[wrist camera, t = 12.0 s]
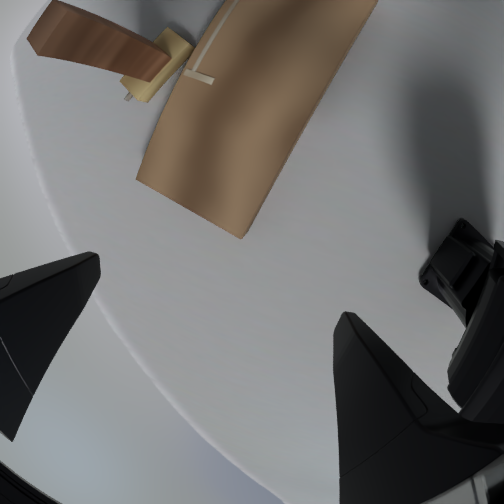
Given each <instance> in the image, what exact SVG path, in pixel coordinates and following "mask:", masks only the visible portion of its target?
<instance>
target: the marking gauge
mask: <svg viewBox="0 0 504 504" xmlns="http://www.w3.org/2000/svg"><path fill="white" fill-rule="evenodd" d="M27 40H28V41H29V43H30V45H31V46H32V48H33V49H34V51H35V52H36V54H37V55H38V56H44V57H50V58H56V59H61V60H67V61H71V62H76V63H81V64H85V65H89V66H93V67H97V68H101V69H105V70H109V71H113V72H116V73H120V74H123V75H124V76H123V77H122V79H121V80H120V82H121V83H122V84H123V85H124V86H125V87H126V89H127V90H128V91H129V93H128V94H127V96H126V97H125V98H124V99H125V100H126V101H129V100H130V99H131V98H132V97H133V96H134V97H135V98H136V99H137V100H138V101H143V102H147V103H148V102H149V100H150V99H151V98H152V97H153V96H154V95H155V93H156V92H157V91H158V90H159V89H160V88H161V87H162V85H163V84H164V83H165V82H166V81H167V80H168V79H169V78H170V77H171V76H172V75H173V73H174V72H175V71H176V70H177V69H178V68H179V67H180V66H181V65H182V64H183V63H184V62H185V61H186V60H187V59H188V58H189V57H190V56H191V55H192V53H193V51H194V50H195V48H194V47H193V46H192V45H191V44H189V43H188V42H187V41H186V40H184V39H183V38H182V37H181V36H179V35H178V34H177V33H175V32H174V31H172V30H171V29H170V28H168V27H167V28H166V29H165V30H164V31H163V32H162V33H161V34H160V35H159V36H158V37H157V38H156V39H155V40H154V41H153V42H151V41H150V40H148V39H146V38H144V37H142V36H140V35H138V34H136V33H134V32H132V31H130V30H128V29H126V28H124V27H122V26H120V25H118V24H116V23H114V22H111V21H109V20H107V19H105V18H102V17H100V16H98V15H95V14H93V13H91V12H88V11H86V10H83V9H81V8H78V7H75V6H73V5H70V4H67V3H64V2H61V1H58V0H52V1H51V3H50V4H49V5H48V7H47V8H46V10H45V11H44V12H43V14H42V15H41V17H40V18H39V20H38V21H37V23H36V24H35V26H34V27H33V29H32V31H31V32H30V34H29V35H28V37H27Z"/></svg>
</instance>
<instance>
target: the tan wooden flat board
mask: <svg viewBox="0 0 504 504" xmlns="http://www.w3.org/2000/svg"><path fill="white" fill-rule="evenodd" d="M377 2H378V0H226V1H225V2H224V4H223V5H222V7H221V8H220V10H219V11H218V12H217V14H216V16H215V17H214V19H213V20H212V22H211V23H210V25H209V26H208V28H207V30H206V31H205V33H204V34H203V36H202V38H201V39H200V41H199V43H198V44H197V46H196V48H195V50H194V51H193V53H192V55H191V57H190V58H189V60H188V62H187V64H186V66H185V68H184V69H183V71H182V73H181V75H180V77H179V79H178V81H177V83H176V85H175V87H174V89H173V91H172V93H171V95H170V97H169V99H168V101H167V103H166V106H165V108H164V110H163V112H162V114H161V116H160V119H159V121H158V123H157V126H156V128H155V130H154V133H153V135H152V137H151V140H150V142H149V145H148V147H147V150H146V152H145V155H144V158H143V160H142V163H141V166H140V168H139V171H138V174H137V177H136V180H138V181H139V182H141V183H143V184H145V185H146V186H148V187H150V188H152V189H154V190H155V191H157V192H159V193H161V194H162V195H164V196H166V197H168V198H169V199H171V200H173V201H175V202H176V203H178V204H180V205H182V206H183V207H185V208H187V209H189V210H190V211H192V212H194V213H196V214H197V215H199V216H201V217H203V218H204V219H206V220H208V221H210V222H211V223H213V224H215V225H217V226H218V227H220V228H222V229H224V230H225V231H227V232H229V233H230V234H232V235H234V236H236V237H237V238H239V239H242V238H243V237H244V236H245V234H246V233H247V232H248V230H249V229H250V227H251V225H252V223H253V221H254V219H255V217H256V216H257V214H258V212H259V210H260V208H261V206H262V205H263V203H264V201H265V199H266V197H267V196H268V194H269V192H270V190H271V188H272V186H273V185H274V183H275V181H276V179H277V177H278V176H279V174H280V172H281V170H282V168H283V166H284V165H285V163H286V161H287V159H288V157H289V156H290V154H291V152H292V150H293V148H294V147H295V145H296V143H297V141H298V139H299V138H300V136H301V134H302V132H303V131H304V129H305V127H306V125H307V123H308V122H309V120H310V118H311V116H312V115H313V113H314V111H315V109H316V108H317V106H318V104H319V102H320V100H321V99H322V97H323V95H324V93H325V92H326V90H327V88H328V86H329V85H330V83H331V81H332V79H333V78H334V76H335V74H336V72H337V71H338V69H339V67H340V66H341V64H342V62H343V60H344V59H345V57H346V55H347V53H348V52H349V50H350V48H351V47H352V45H353V43H354V41H355V40H356V38H357V36H358V35H359V33H360V31H361V29H362V28H363V26H364V24H365V23H366V21H367V19H368V18H369V16H370V14H371V13H372V11H373V9H374V7H375V6H376V4H377Z"/></svg>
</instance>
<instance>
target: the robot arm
mask: <svg viewBox="0 0 504 504" xmlns="http://www.w3.org/2000/svg"><path fill="white" fill-rule="evenodd" d="M462 223H464V226H463V227H462V228H461V225H462ZM100 275H101V270H100V258H99V255H98V254H97V253H93V252H85V253H81V254H78V255H74V256H71V257H68V258H64V259H61V260H58V261H54V262H51V263H48V264H44V265H41V266H38V267H35V268H31V269H28V270H25V271H22V272H19V273H16V274H14V275H13V274H12V275H9V276H6V277H3V278H0V433H1V434H3V435H4V436H5V437H6V438H7V439H9V440H10V441H11V442H13V440H14V438H15V436H16V433H17V431H18V428H19V426H20V424H21V422H22V419H23V417H24V415H25V413H26V410H27V408H28V406H29V404H30V402H31V400H32V398H33V395H34V394H35V392H36V389H37V388H38V386H39V384H40V382H41V380H42V378H43V376H44V374H45V372H46V370H47V369H48V367H49V365H50V363H51V361H52V360H53V358H54V356H55V354H56V353H57V351H58V349H59V347H60V346H61V344H62V343H63V341H64V339H65V338H66V336H67V334H68V333H69V331H70V329H71V328H72V326H73V325H74V323H75V321H76V320H77V318H78V317H79V315H80V314H81V312H82V310H83V309H84V307H85V305H86V303H87V301H88V299H89V298H90V296H91V294H92V292H93V290H94V288H95V286H96V284H97V283H98V281H99V279H100ZM426 279H427V282H426V283H424V280H426ZM419 282H420V284H421V286H422V287H423V288H425V289H426V290H427V291H429V292H430V293H431V294H433V295H434V296H436V297H437V298H438V299H440V300H441V301H442V302H444V303H445V304H446V305H448V306H449V307H450V308H452V309H453V310H454V312H455V313H456V315H457V316H458V317H459V319H460V320H461V322H462V323H463V325H464V326H465V328H466V330H465V332H464V334H463V336H462V339H461V341H460V343H459V345H458V347H457V348H455V350H454V352H453V354H452V359H451V361H450V363H449V367H448V371H447V372H448V379H449V385H448V387H447V388H448V391H449V393H450V395H451V396H452V398H453V400H454V401H455V402H456V403H457V405H458V406H459V407H460V408H461V411H460V412H459V413H457V412H456V411H455V410H454V409H453V408H452V407H450V406H449V405H448V404H447V403H446V402H445V401H444V400H443V399H441V398H440V397H439V396H438V395H437V394H436V393H435V392H434V391H433V390H432V389H430V388H429V387H428V386H427V385H426V384H425V383H424V382H423V381H422V380H421V379H420V378H419V377H418V376H417V375H416V374H415V373H414V372H413V371H412V370H411V368H410V367H409V366H408V365H407V364H406V363H405V362H404V361H403V360H402V359H401V358H400V357H399V356H398V355H397V354H396V353H395V352H394V351H393V350H392V349H391V348H390V347H389V346H388V345H387V344H386V343H385V342H384V341H383V340H382V339H381V338H380V337H379V336H378V335H377V334H376V333H375V332H374V331H373V330H372V329H371V328H370V327H369V326H368V325H367V324H366V323H364V322H363V321H362V320H361V319H360V318H359V317H358V316H357V315H356V314H355V313H352V312H346V311H345V312H343V313H342V315H341V317H340V319H339V321H338V323H337V325H336V327H335V330H334V335H333V374H334V385H335V397H336V410H337V425H338V443H339V474H340V478H339V484H340V504H504V242H503V241H499V240H495V244H494V248H493V247H492V246H491V245H490V244H489V243H488V242H487V240H486V239H485V238H484V237H483V236H482V235H481V234H480V233H479V232H478V231H477V230H476V229H475V228H474V227H473V226H472V225H471V224H470V223H469V222H468V221H466V220H465V219H459V220H458V222H457V223H456V225H455V227H454V228H453V230H452V231H451V233H450V235H449V236H448V237H446V239H445V241H444V242H443V244H442V245H441V247H440V248H439V250H438V251H437V253H436V254H435V256H434V257H433V259H432V260H431V264H430V265H429V266H428V268H427V269H426V271H425V272H424V273H423V275H422V276H421V278H420V280H419ZM0 504H62V503H60V502H58V501H56V500H55V499H53V498H51V497H50V496H48V495H47V494H45V493H44V492H42V491H40V490H39V489H37V488H36V487H34V486H33V485H32V484H30V483H29V482H27V481H26V480H25V479H23V478H22V477H20V476H19V475H18V474H16V473H15V472H14V471H13V470H11V469H10V468H9V467H8V466H6V465H5V464H4V463H3V462H1V461H0Z"/></svg>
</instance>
